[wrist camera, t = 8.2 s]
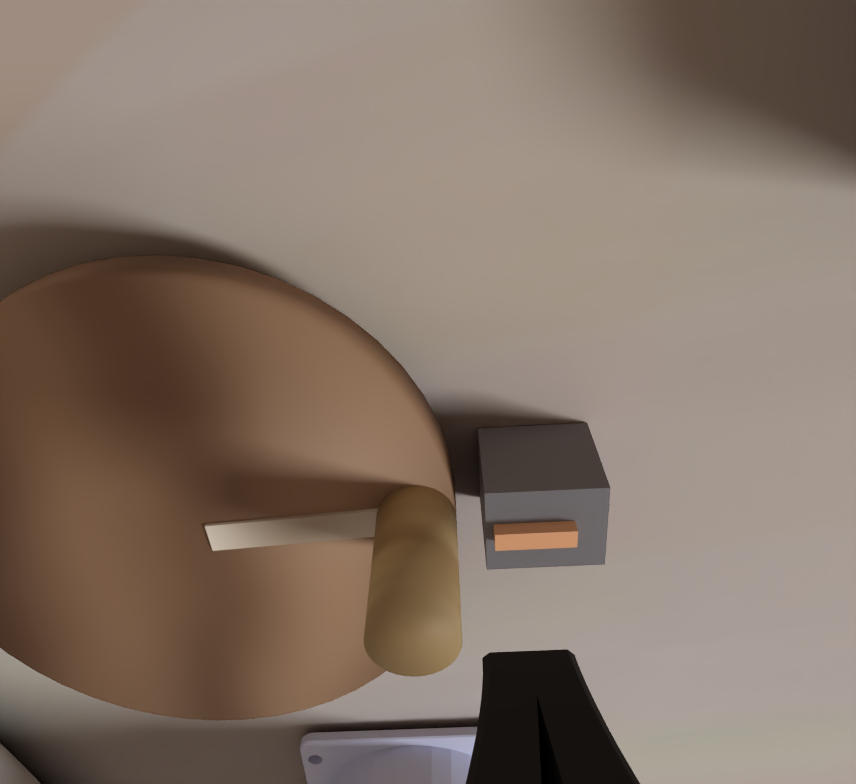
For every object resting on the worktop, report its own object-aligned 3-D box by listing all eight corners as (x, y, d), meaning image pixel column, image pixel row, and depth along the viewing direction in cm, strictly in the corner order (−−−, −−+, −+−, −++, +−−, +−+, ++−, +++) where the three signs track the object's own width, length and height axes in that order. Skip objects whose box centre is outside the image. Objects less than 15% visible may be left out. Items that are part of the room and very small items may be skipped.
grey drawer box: (586, 422, 20) (613, 497, 17) (583, 493, 21) (608, 575, 18) (478, 428, 20) (485, 504, 17) (480, 498, 22) (488, 580, 19)
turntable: (45, 694, 24) (-53, 873, 19) (-173, 289, 17) (-408, 407, 12) (476, 661, 23) (488, 839, 18) (423, 222, 16) (420, 320, 12)
